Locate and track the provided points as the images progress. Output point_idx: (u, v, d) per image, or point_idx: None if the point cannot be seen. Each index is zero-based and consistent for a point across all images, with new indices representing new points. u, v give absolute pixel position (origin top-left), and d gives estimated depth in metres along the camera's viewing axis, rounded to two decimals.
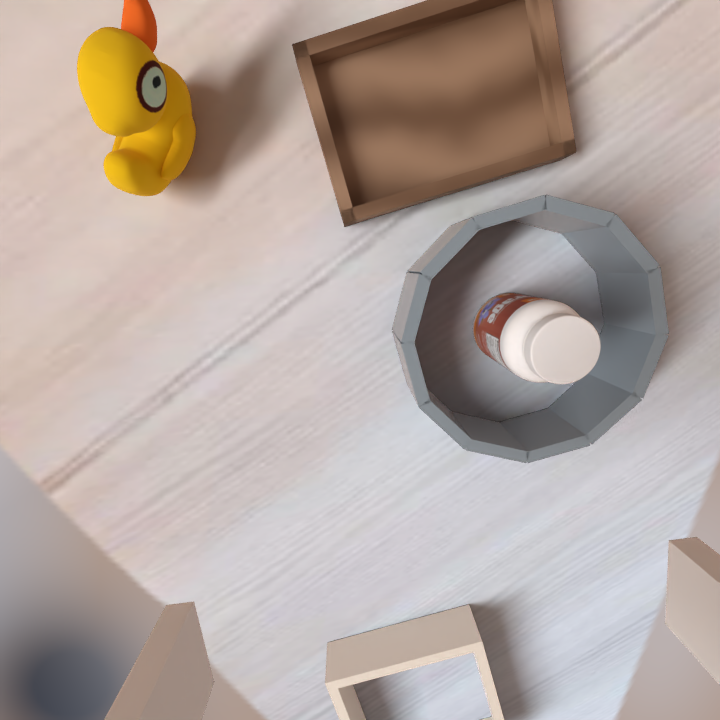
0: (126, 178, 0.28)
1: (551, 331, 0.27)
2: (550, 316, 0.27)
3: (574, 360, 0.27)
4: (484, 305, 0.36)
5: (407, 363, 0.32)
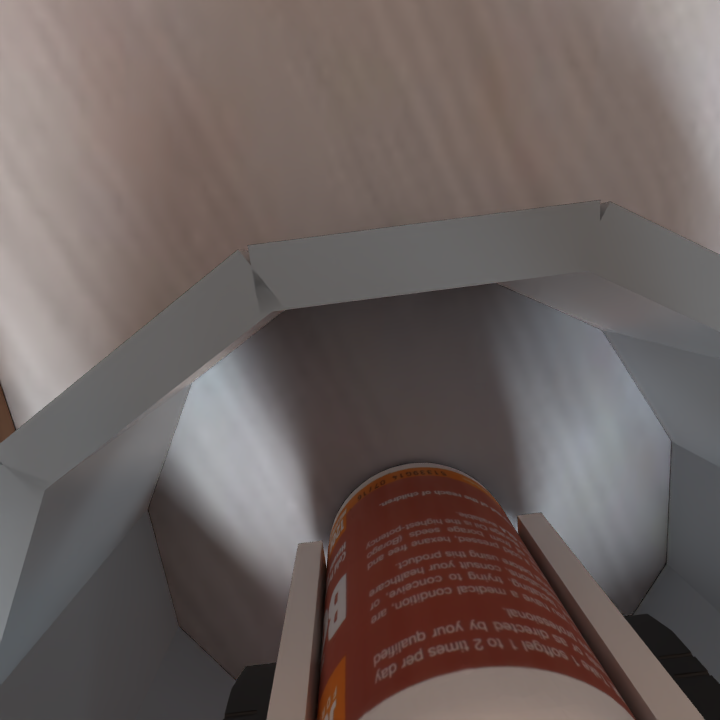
0: None
1: None
2: None
3: None
4: None
5: None
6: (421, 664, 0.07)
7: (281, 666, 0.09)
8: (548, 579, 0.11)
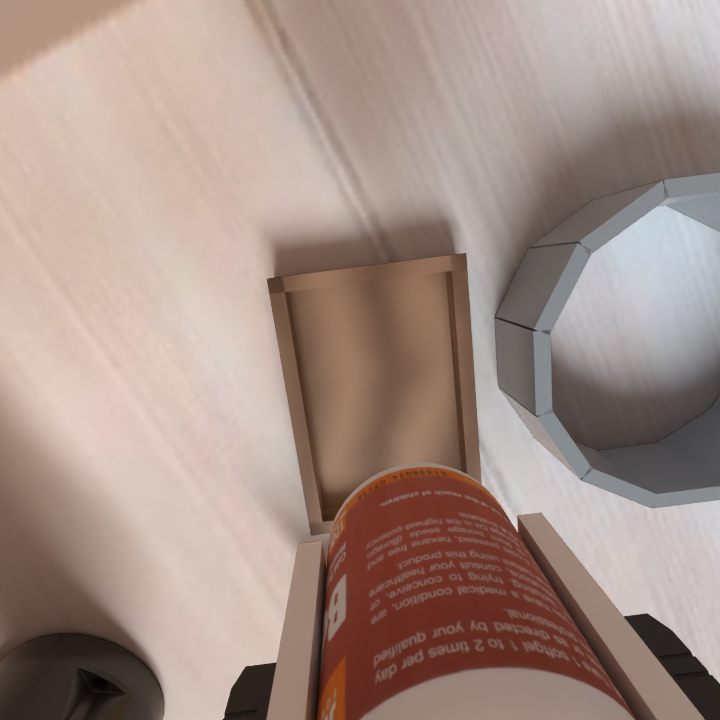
0: None
1: None
2: None
3: None
4: None
5: (677, 503, 0.27)
6: (422, 666, 0.07)
7: (281, 666, 0.09)
8: (548, 579, 0.11)
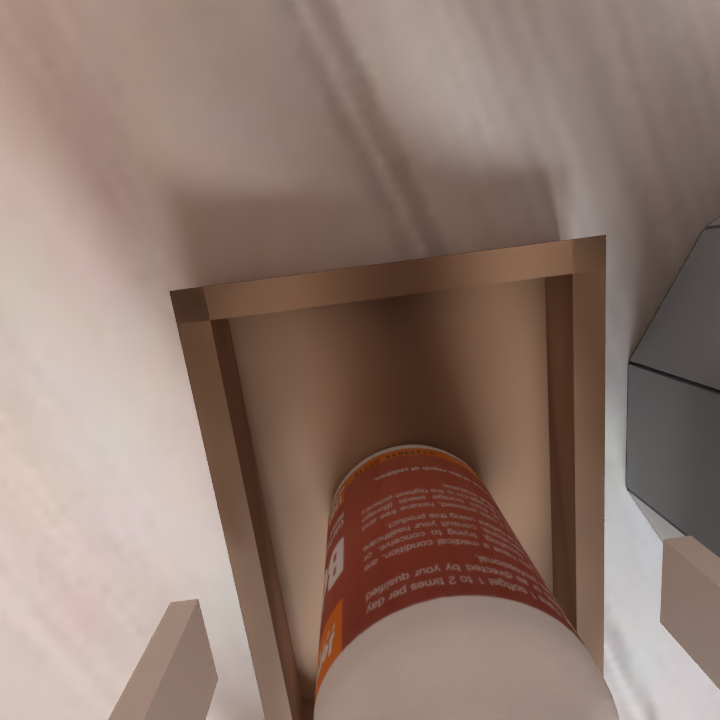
0: None
1: None
2: None
3: None
4: None
5: None
6: (405, 596, 0.08)
7: None
8: None
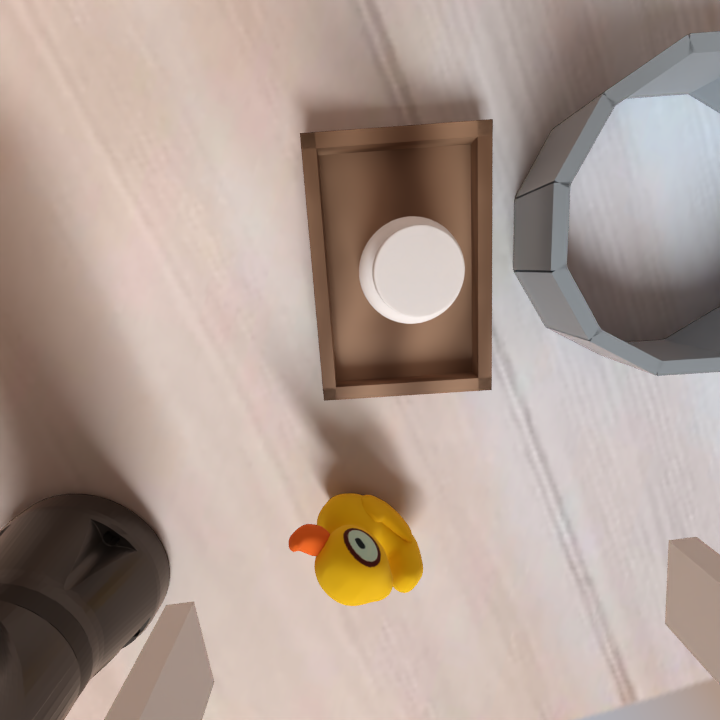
0: (416, 579, 0.32)
1: (389, 288, 0.21)
2: (373, 279, 0.22)
3: (434, 262, 0.21)
4: None
5: (681, 372, 0.28)
6: None
7: None
8: None
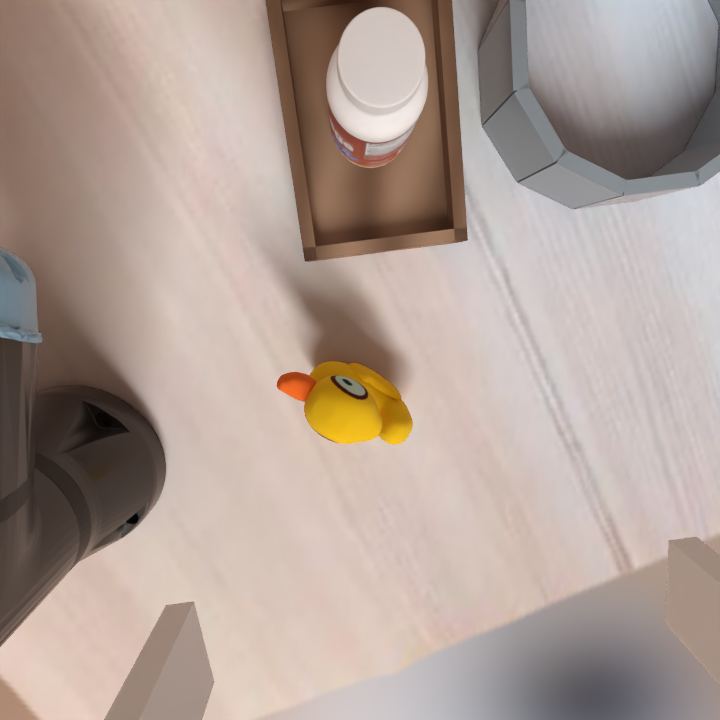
0: (406, 428, 0.32)
1: (354, 76, 0.22)
2: (338, 75, 0.22)
3: (395, 47, 0.21)
4: (340, 150, 0.32)
5: (646, 191, 0.29)
6: None
7: None
8: None
